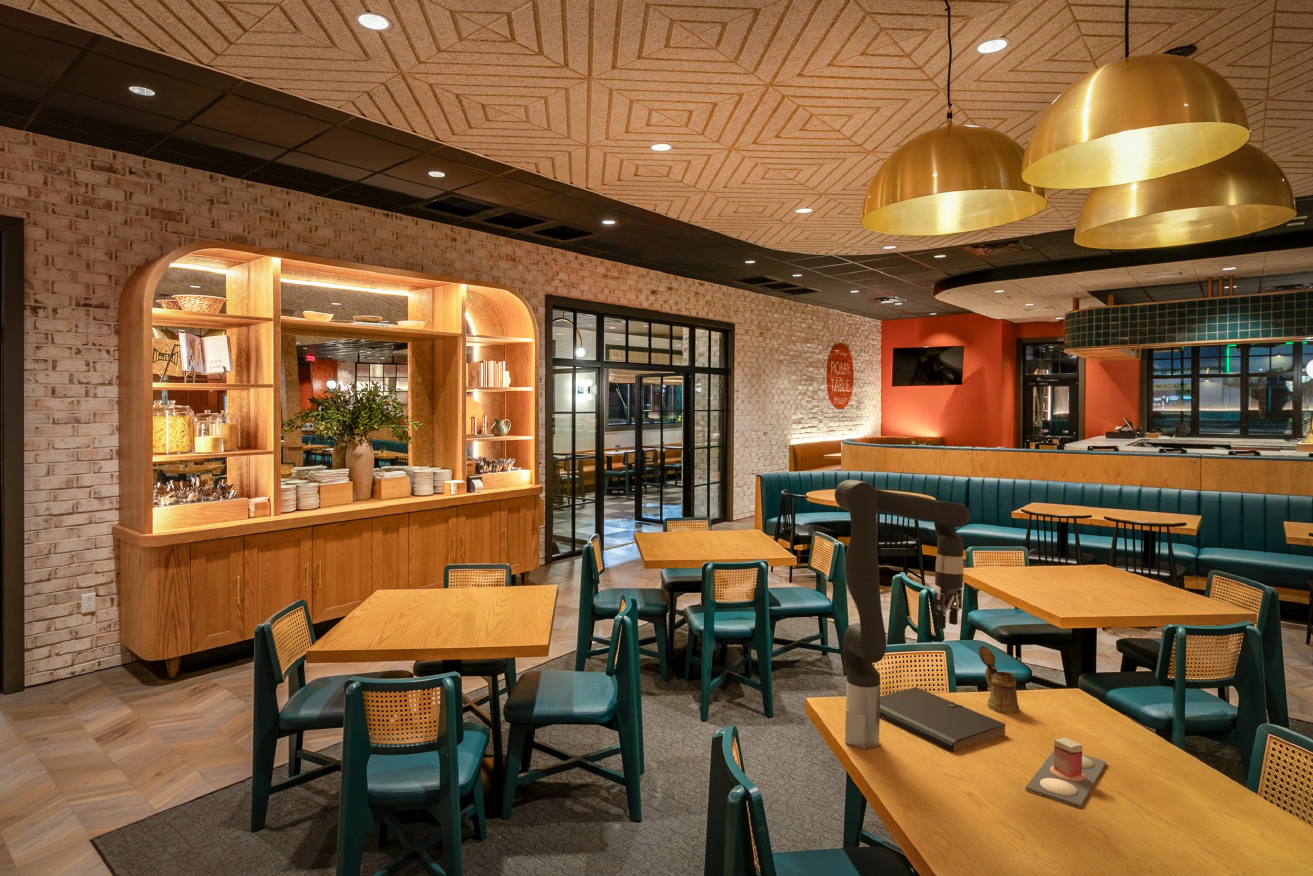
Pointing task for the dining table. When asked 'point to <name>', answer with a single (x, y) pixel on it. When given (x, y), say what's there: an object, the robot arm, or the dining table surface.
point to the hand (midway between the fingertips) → (947, 626)
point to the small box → (1068, 757)
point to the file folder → (938, 719)
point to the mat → (1066, 781)
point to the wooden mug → (999, 685)
